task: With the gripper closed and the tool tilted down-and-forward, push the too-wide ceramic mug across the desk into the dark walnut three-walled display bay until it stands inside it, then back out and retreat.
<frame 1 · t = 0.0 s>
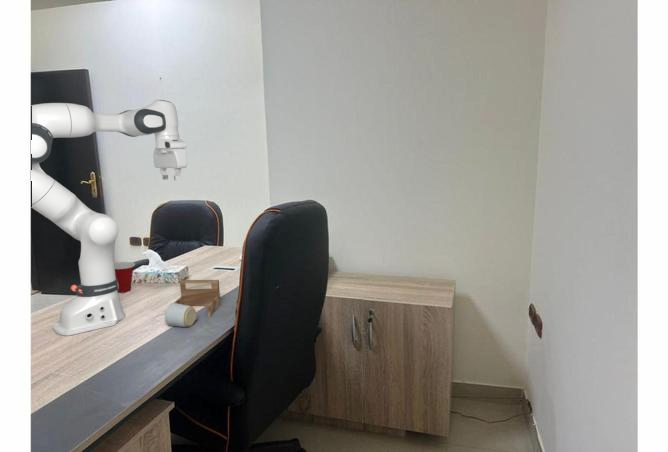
hand: (171, 179, 176), 48 cm above the table, tool pointing down, fingers open, 8 cm apart
display bay: (194, 312, 167), on the table
plastic cup: (124, 291, 195), on the table
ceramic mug: (183, 324, 156), on the table
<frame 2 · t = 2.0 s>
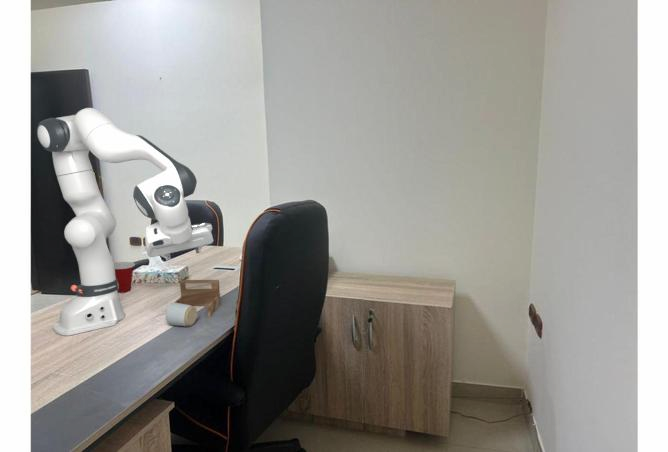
hand: (183, 254, 146), 26 cm above the table, tool tilted 45°, fingers open, 8 cm apart
nothing on the table moved.
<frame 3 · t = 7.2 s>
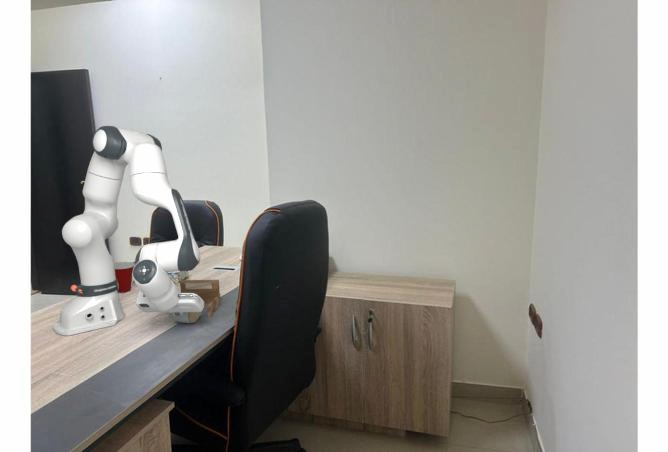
hand: (179, 313, 152), 5 cm above the table, tool tilted 45°, fingers closed
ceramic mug: (188, 321, 159), on the table, touching gripper
everything else where it was.
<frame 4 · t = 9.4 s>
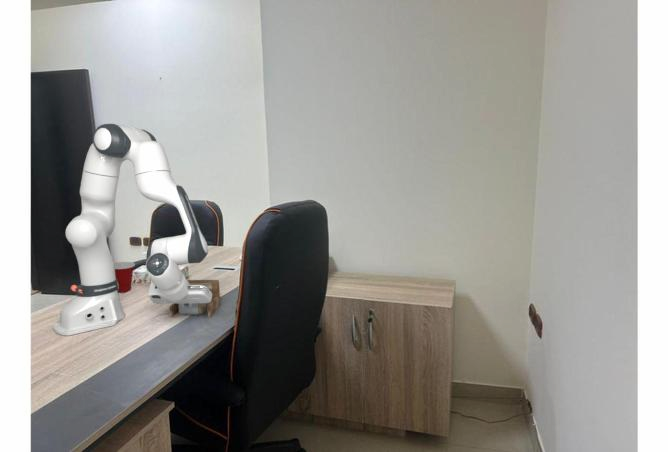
hand: (188, 304, 160), 5 cm above the table, tool tilted 45°, fingers closed
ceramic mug: (194, 313, 167), on the table
everything else where it was.
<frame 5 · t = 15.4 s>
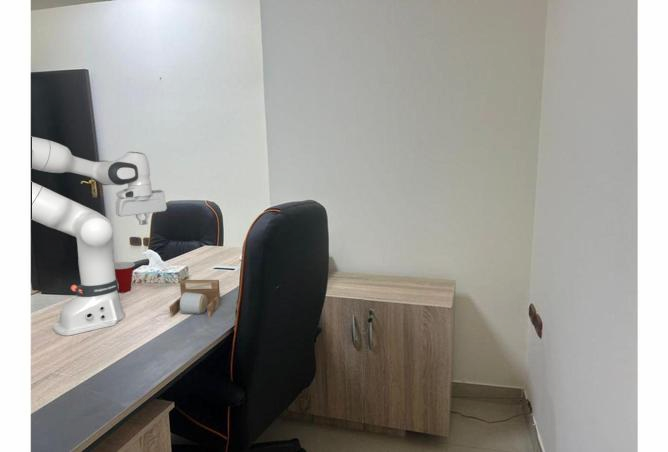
hand: (143, 224, 188), 29 cm above the table, tool pointing down, fingers closed
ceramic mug: (195, 312, 168), on the table, touching display bay
everything else where it was.
at the end: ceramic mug inside the target area on the display bay (1.1 cm from its centre), point 0.0 cm above the display bay's base; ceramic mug tilted 0°; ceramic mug moved 12.0 cm from its start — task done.
